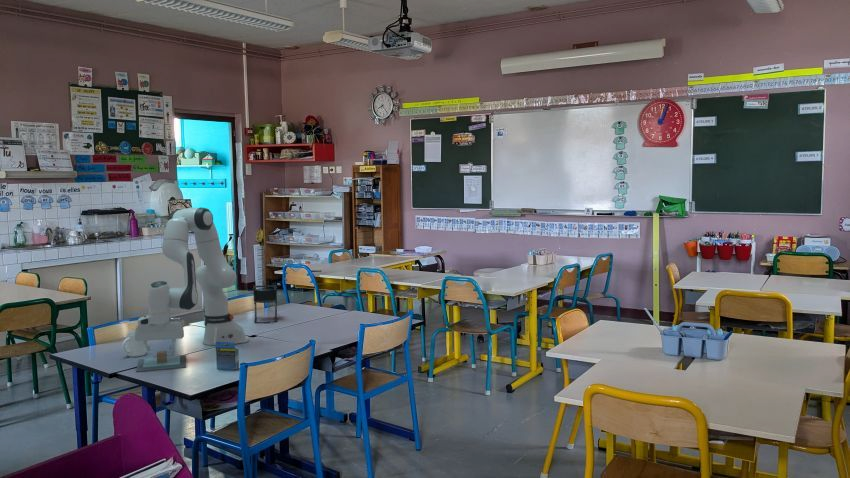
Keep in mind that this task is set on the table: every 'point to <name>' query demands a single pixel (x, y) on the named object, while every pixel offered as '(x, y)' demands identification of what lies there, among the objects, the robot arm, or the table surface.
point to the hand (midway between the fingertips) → (159, 349)
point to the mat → (141, 362)
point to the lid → (161, 361)
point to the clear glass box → (265, 299)
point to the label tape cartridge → (227, 356)
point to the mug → (133, 346)
